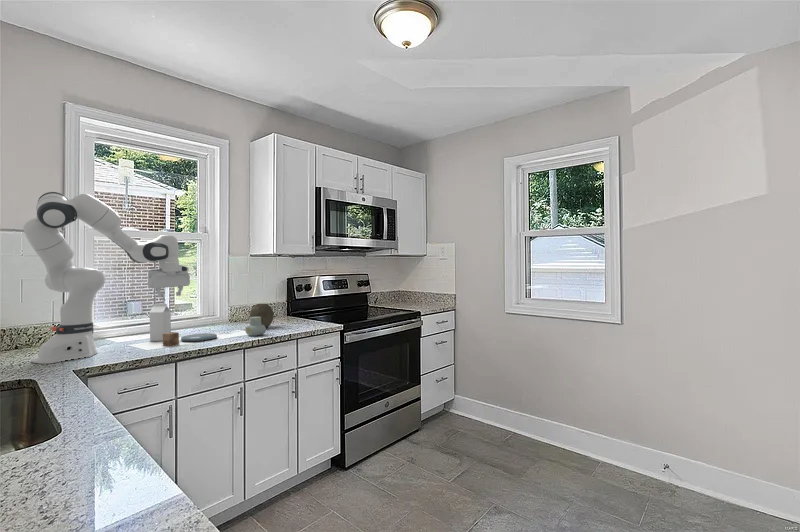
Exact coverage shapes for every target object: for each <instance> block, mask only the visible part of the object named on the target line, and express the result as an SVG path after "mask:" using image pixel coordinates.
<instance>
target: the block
mask: <svg viewBox="0 0 800 532" xmlns="http://www.w3.org/2000/svg"><path fill="white" fill-rule="evenodd" d="M178 344H179V345H180V333H179V332H177V331H171V332H169V333H163V341H162V346H163V347H174V346H178ZM173 345H174V346H173Z"/></svg>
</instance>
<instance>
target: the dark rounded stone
mask: <svg viewBox="0 0 800 532" xmlns="http://www.w3.org/2000/svg"><path fill="white" fill-rule="evenodd" d="M250 317H261V324H262V325H264V326H265V327H266V329H268V328H269V327H270V326H271V325H272V324H273V323H272V322H273V320H274V317H275V316H274V311H273V309H272V307H271V306H270V304H268V303H257V304H254V305H253V306H252V308H251V310H250V311H249V318H250Z"/></svg>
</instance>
